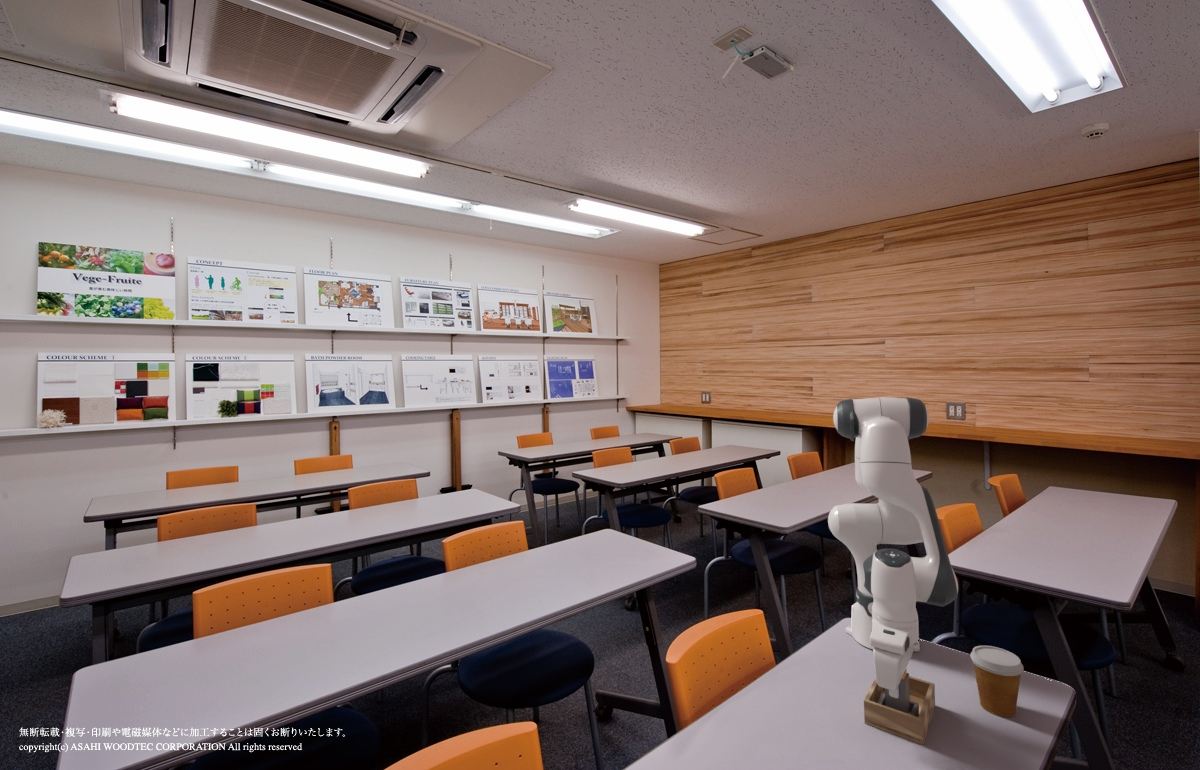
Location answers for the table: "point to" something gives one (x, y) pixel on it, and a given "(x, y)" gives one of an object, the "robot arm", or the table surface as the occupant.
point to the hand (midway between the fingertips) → (897, 689)
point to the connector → (904, 698)
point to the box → (897, 721)
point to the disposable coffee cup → (997, 679)
